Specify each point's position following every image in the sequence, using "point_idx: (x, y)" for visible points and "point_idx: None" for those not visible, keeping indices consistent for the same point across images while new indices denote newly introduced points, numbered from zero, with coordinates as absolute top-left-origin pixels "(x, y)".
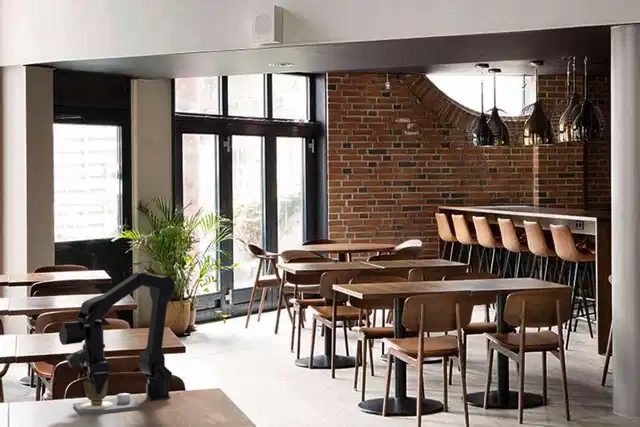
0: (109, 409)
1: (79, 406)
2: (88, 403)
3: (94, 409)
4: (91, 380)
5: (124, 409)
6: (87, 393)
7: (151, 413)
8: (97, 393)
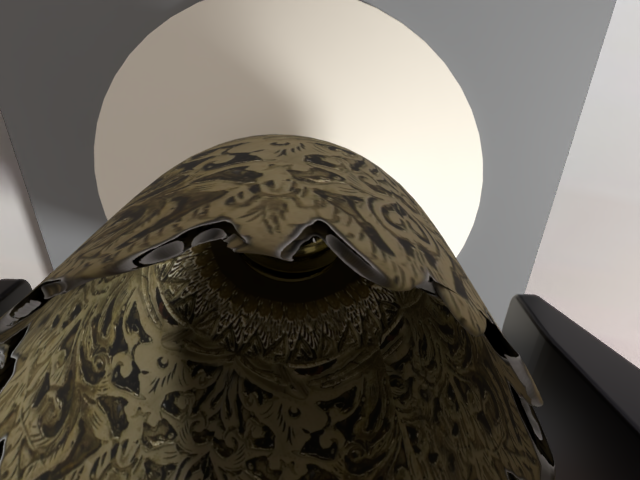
0: (54, 266)
1: None
2: (427, 134)
3: (90, 135)
4: (506, 409)
5: None
6: (188, 161)
7: None
8: (3, 289)
